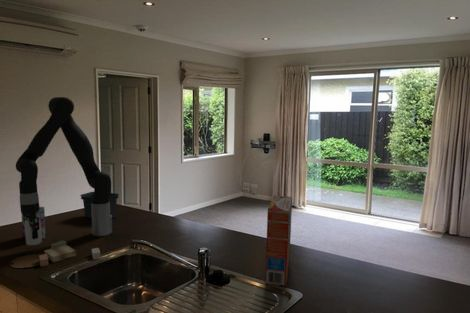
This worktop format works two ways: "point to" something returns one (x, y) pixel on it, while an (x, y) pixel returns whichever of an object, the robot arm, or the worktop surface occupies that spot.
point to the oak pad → (60, 253)
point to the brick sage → (58, 244)
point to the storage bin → (87, 204)
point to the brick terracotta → (43, 260)
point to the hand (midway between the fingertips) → (32, 236)
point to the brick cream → (96, 253)
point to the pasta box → (278, 240)
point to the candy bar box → (42, 220)
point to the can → (29, 234)
